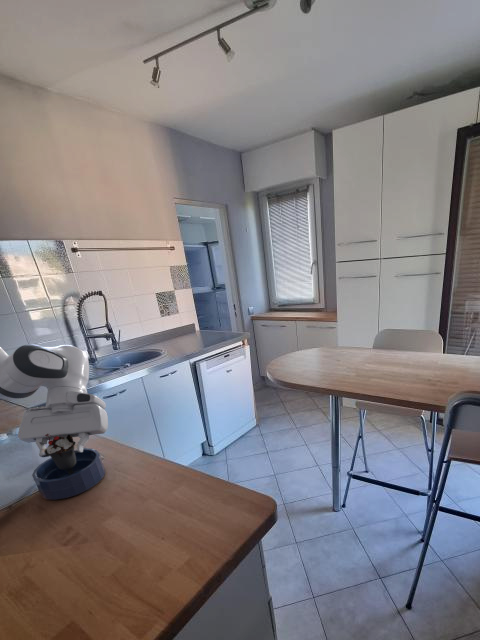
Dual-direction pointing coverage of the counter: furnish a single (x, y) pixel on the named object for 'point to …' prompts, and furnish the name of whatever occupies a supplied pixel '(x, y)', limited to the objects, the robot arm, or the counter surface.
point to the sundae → (62, 452)
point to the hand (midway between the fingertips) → (61, 454)
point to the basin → (69, 476)
